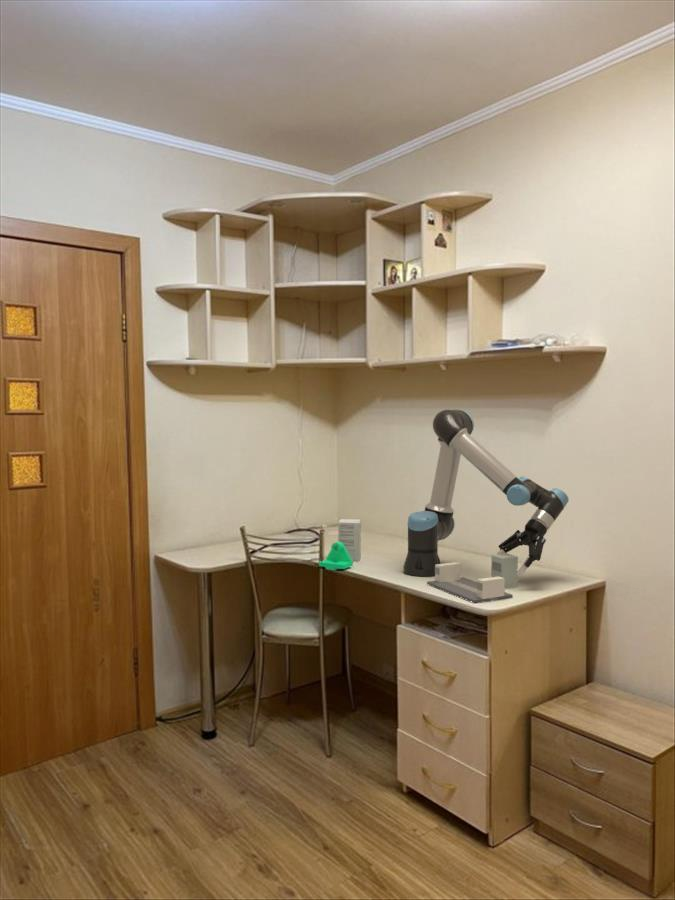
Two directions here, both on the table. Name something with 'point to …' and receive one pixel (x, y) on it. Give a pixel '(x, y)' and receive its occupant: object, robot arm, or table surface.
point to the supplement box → (350, 537)
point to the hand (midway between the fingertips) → (506, 569)
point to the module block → (505, 569)
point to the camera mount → (337, 558)
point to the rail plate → (468, 584)
